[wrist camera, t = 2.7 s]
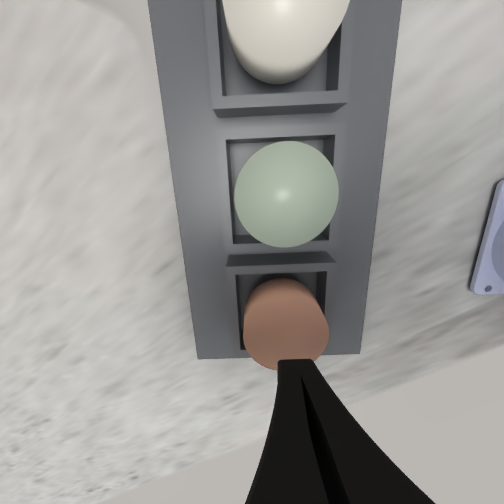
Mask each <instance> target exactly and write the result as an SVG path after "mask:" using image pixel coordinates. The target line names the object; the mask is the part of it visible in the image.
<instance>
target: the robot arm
mask: <svg viewBox="0 0 504 504" xmlns="http://www.w3.org/2000/svg"><path fill="white" fill-rule="evenodd" d="M486 286H487V287H486ZM485 287H486V288H485ZM470 291H471V292H473V293H474V294H476V295H488V294H504V179H503V180H501V181H500V182H499V183H498V185H497V187H496V191H495V194H494V198H493V202H492V206H491V210H490V213H489V217H488V221H487V225H486V228H485V232H484V236H483V240H482V243H481V247H480V251H479V255H478V258H477V262H476V266H475V270H474V273H473V277H472V281H471V285H470ZM277 364H278V385H277V392H276V398H275V404H274V410H273V414H272V418H271V423H270V427H269V431H268V435H267V439H266V442H265V446H264V450H263V453H262V456H261V459H260V462H259V465H258V468H257V471H256V474H255V477H254V480H253V483H252V486H251V489H250V491H249V494H248V497H247V500H246V502H245V504H435V503H434V502H433V501H432V500H431V499H430V498H429V497H428V496H427V495H426V494H425V493H424V492H423V491H421V490H420V489H419V488H418V487H417V486H416V485H415V484H414V483H413V482H412V481H411V480H410V479H409V478H408V477H407V476H406V475H405V474H404V473H403V472H402V471H401V470H400V469H399V468H398V467H397V466H396V465H395V464H394V463H393V462H392V461H391V460H390V459H389V457H388V456H387V455H386V454H385V453H384V452H383V451H382V450H381V449H380V448H379V447H378V446H377V445H376V443H374V441H373V440H372V439H371V438H370V437H369V435H368V434H367V433H366V432H365V431H364V430H363V428H362V427H361V426H360V425H359V424H358V422H357V421H356V420H355V419H354V418H353V416H352V415H351V414H350V413H349V412H348V410H347V409H346V407H345V406H344V405H343V403H342V402H341V401H340V400H339V398H338V397H337V396H336V394H335V393H334V392H333V390H332V389H331V387H330V386H329V385H328V383H327V382H326V380H325V379H324V377H323V376H322V374H321V373H320V371H319V370H318V368H317V367H316V365H315V363H314V362H313V360H312V359H283V360H279V361H278V362H277Z"/></svg>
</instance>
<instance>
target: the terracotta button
mask: <svg viewBox="0 0 504 504" xmlns="http://www.w3.org/2000/svg"><path fill="white" fill-rule="evenodd" d="M328 339H329V327H328V323H327V321H326V319H325V317H324V315H323V313H322V311H321V309H320V307H319V305H318V303H317V301H316V299H315V297H314V295H313V293H312V292H311V290H310V289H309V288H308V287H307V286H305V285H304V284H302V283H301V282H299V281H296V280H293V279H289V278H276V279H271V280H268V281H266V282H263V283H262V284H260V285H258V286H257V287H256V288H255V289H254V290H253V291H252V292H251V293H250V295H249V296H248V298H247V301H246V304H245V312H244V330H243V340H244V345H245V348H246V350H247V352H248V353H249V355H250V356H251V357H252V358H253V359H254V360H255V361H256V362H257V363H259V364H260V365H262V366H264V367H267V368H270V369H273V370H278V364H277V362H278V361H279V360H283V359H312V360H313V361H315V360H316V359H317V358H318V357H319V356H320V355H321V354H322V353H323V351H324V350H325V348H326V346H327V343H328Z"/></svg>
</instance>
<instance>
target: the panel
mask: <svg viewBox="0 0 504 504" xmlns="http://www.w3.org/2000/svg"><path fill="white" fill-rule="evenodd" d="M401 5H402V0H350V2H349V5H348V8H347V11H346V13H345V15H344V18H343V20H342V22H341V24H340V25H339V27H338V29H337V31H336V32H335V34H334V35H333V37H332V39H331V40H330V42H329V44H328V45H327V47H326V49H325V50H324V52H323V54H322V55H321V57H320V59H319V60H318V62H317V63H316V64H315V66H314V67H313V68H312V69H311V70H310V71H309V72H308V73H306V74H305V75H304V76H302V77H301V78H299V79H297V80H295V81H293V82H290V83H286V84H269V83H265V82H262V81H260V80H258V79H256V78H254V77H253V76H251V75H250V74H249V73H248V72H247V71H246V70H245V69H244V68H243V67H242V66H241V64H240V63H239V61H238V60H237V58H236V56H235V54H234V52H233V50H232V47H231V44H230V40H229V36H228V30H227V25H226V19H225V13H224V8H223V2H222V0H148V6H149V14H150V21H151V28H152V35H153V42H154V49H155V56H156V63H157V71H158V78H159V85H160V92H161V99H162V106H163V114H164V121H165V128H166V135H167V142H168V149H169V157H170V164H171V171H172V178H173V185H174V192H175V199H176V207H177V214H178V221H179V228H180V235H181V242H182V249H183V257H184V264H185V271H186V278H187V285H188V292H189V300H190V307H191V314H192V321H193V328H194V335H195V342H196V350H197V357H198V359H224V358H252V357H251V356H250V355H249V353H248V352H247V350H246V348H245V345H244V340H243V330H244V312H245V304H246V301H247V298H248V296H249V295H250V293H251V292H252V291H253V290H254V289H255V288H256V287H257V286H258V285H260V284H262V283H263V282H266V281H268V280H271V279H276V278H289V279H293V280H296V281H299V282H301V283H302V284H304V285H305V286H307V287H308V288H309V289H310V290H311V292H312V293H313V295H314V297H315V299H316V301H317V303H318V305H319V307H320V309H321V311H322V313H323V315H324V317H325V319H326V321H327V323H328V327H329V339H328V343H327V346H326V348H325V350H324V351H323V353H322V354H321V355H340V354H360V349H361V340H362V332H363V324H364V315H365V307H366V298H367V290H368V282H369V273H370V265H371V256H372V248H373V240H374V231H375V223H376V215H377V206H378V198H379V189H380V181H381V173H382V164H383V156H384V147H385V139H386V131H387V122H388V114H389V105H390V97H391V89H392V80H393V72H394V64H395V55H396V47H397V38H398V30H399V22H400V13H401ZM282 141H296V142H301V143H304V144H307V145H310V146H312V147H314V148H315V149H317V150H318V151H320V152H321V153H322V154H323V155H324V156H325V157H326V158H327V160H328V161H329V162H330V164H331V165H332V167H333V169H334V171H335V174H336V177H337V181H338V187H339V197H338V203H337V207H336V210H335V213H334V215H333V217H332V219H331V221H330V222H329V224H328V225H327V227H326V228H325V229H324V230H323V231H322V232H321V233H320V234H319V235H318V236H316V237H315V238H313V239H312V240H310V241H308V242H306V243H304V244H301V245H299V246H294V247H286V248H285V247H274V246H270V245H267V244H265V243H262V242H260V241H259V240H257V239H255V238H254V237H253V236H252V235H251V234H250V233H249V232H248V231H247V230H246V229H245V228H244V226H243V225H242V223H241V221H240V220H239V217H238V215H237V212H236V208H235V202H234V192H235V185H236V181H237V178H238V176H239V173H240V171H241V169H242V168H243V166H244V165H245V163H246V162H247V161H248V159H249V158H250V157H251V156H252V155H253V154H255V153H256V152H257V151H259V150H260V149H262V148H264V147H265V146H268V145H270V144H273V143H276V142H282Z"/></svg>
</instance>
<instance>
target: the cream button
mask: <svg viewBox="0 0 504 504" xmlns="http://www.w3.org/2000/svg"><path fill="white" fill-rule="evenodd" d="M222 2H223V8H224V13H225V19H226V25H227V30H228V36H229V40H230V44H231V47H232V50H233V52H234V54H235V56H236V58H237V60H238V61H239V63H240V64H241V66H242V67H243V68H244V69H245V70H246V71H247V72H248V73H249V74H250V75H251V76H253V77H254V78H256V79H258V80H260V81H262V82H265V83H269V84H286V83H290V82H293V81H295V80H297V79H299V78H301V77H302V76H304V75H305V74H306V73H308V72H309V71H310V70H311V69H312V68H313V67H314V66H315V64H316V63H317V62H318V60H319V59H320V57H321V55H322V54H323V52H324V50H325V49H326V47H327V45H328V44H329V42H330V40H331V39H332V37H333V35H334V34H335V32H336V31H337V29H338V27H339V25H340V24H341V22H342V20H343V18H344V15H345V13H346V11H347V8H348V5H349V2H350V0H222Z"/></svg>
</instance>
